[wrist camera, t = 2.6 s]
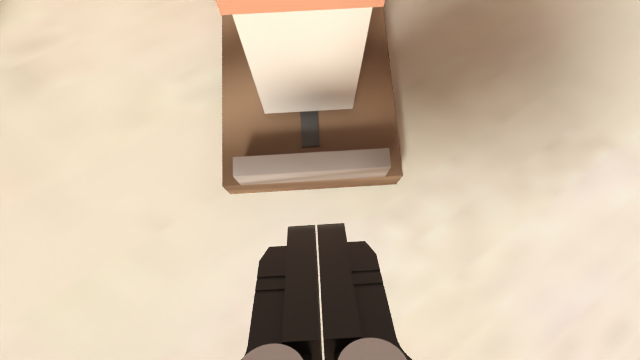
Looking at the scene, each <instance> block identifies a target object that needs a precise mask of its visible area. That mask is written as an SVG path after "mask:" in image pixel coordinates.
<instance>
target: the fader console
mask: <svg viewBox="0 0 640 360" xmlns="http://www.w3.org/2000/svg"><path fill="white" fill-rule="evenodd" d="M222 162H223V187H224V188H225V189H226V190H227V191H228V192H229V193H230V194H238V193H255V192H272V191H288V190H305V189H322V188H338V187H355V186H372V185H388V184H396V183H397V182H398V181H399V180H400V178H401V177H402V176H403V174H402V165H401V157H400V148H399V139H398V131H397V122H396V114H395V105H394V97H393V88H392V80H391V71H390V63H389V54H388V46H387V37H386V29H385V20H384V12H383V7H373V8H372V13H371V18H370V23H369V28H368V33H367V38H366V43H365V48H364V53H363V59H362V64H361V69H360V74H359V79H358V84H357V89H356V94H355V99H354V104H353V109H339V110H321V111H303V112H286V113H268V114H265V113H264V109H263V106H262V103H261V100H260V97H259V94H258V91H257V88H256V85H255V82H254V79H253V76H252V73H251V70H250V67H249V64H248V61H247V58H246V55H245V52H244V49H243V46H242V43H241V40H240V37H239V34H238V31H237V28H236V25H235V21H234V18H233V15H222Z"/></svg>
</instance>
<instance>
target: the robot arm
mask: <svg viewBox="0 0 640 360" xmlns="http://www.w3.org/2000/svg"><path fill="white" fill-rule="evenodd" d="M317 228H318V246H319V265H320V283H321V302H322V320H323V338H324V355H325V360H412V359H411V358H410V357H409V356H408V355H407V354H406V353H405V352H404V351H403V350H402V348H401V347H400V345H399V343H398V341H397V338H396V334H395V330H394V326H393V322H392V318H391V314H390V310H389V305H388V301H387V297H386V293H385V289H384V286H383V281H382V276H381V273H380V268H379V264H378V260H377V256H376V253H375V252H374V251H373V250H372V249H371V248H370V246H369V245H368V244H367V243H366V242H365V241H360V242H347V239H346V232H345V226H344V223H340V224H323V225H317ZM241 360H322V345H321V324H320V304H319V283H318V266H317V250H316V234H315V225H308V226H291V227H288V236H287V246H277V247H269V248H268V249H267V251H266V252H265V254H264V255H263V257H262V258H261V259H260V261H259V267H258V275H257V282H256V289H255V296H254V304H253V311H252V318H251V326H250V333H249V340H248V347H247V351H246V354H245V356H244V357H243V358H242V359H241Z"/></svg>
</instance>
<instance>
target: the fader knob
mask: <svg viewBox="0 0 640 360" xmlns="http://www.w3.org/2000/svg"><path fill="white" fill-rule="evenodd" d="M216 3H217V6H218V8H219V11H220V14H221V15H233V18H234V21H235V25H236V28H237V31H238V34H239V37H240V40H241V43H242V46H243V49H244V52H245V55H246V58H247V61H248V64H249V67H250V70H251V73H252V76H253V79H254V82H255V85H256V88H257V91H258V94H259V97H260V100H261V103H262V106H263V109H264V113H265V114H268V113H286V112H303V111H321V110H339V109H353V104H354V99H355V94H356V89H357V84H358V79H359V74H360V69H361V64H362V59H363V53H364V48H365V43H366V38H367V33H368V28H369V23H370V18H371V13H372V8H373V7H384V3H385V0H216Z"/></svg>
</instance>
